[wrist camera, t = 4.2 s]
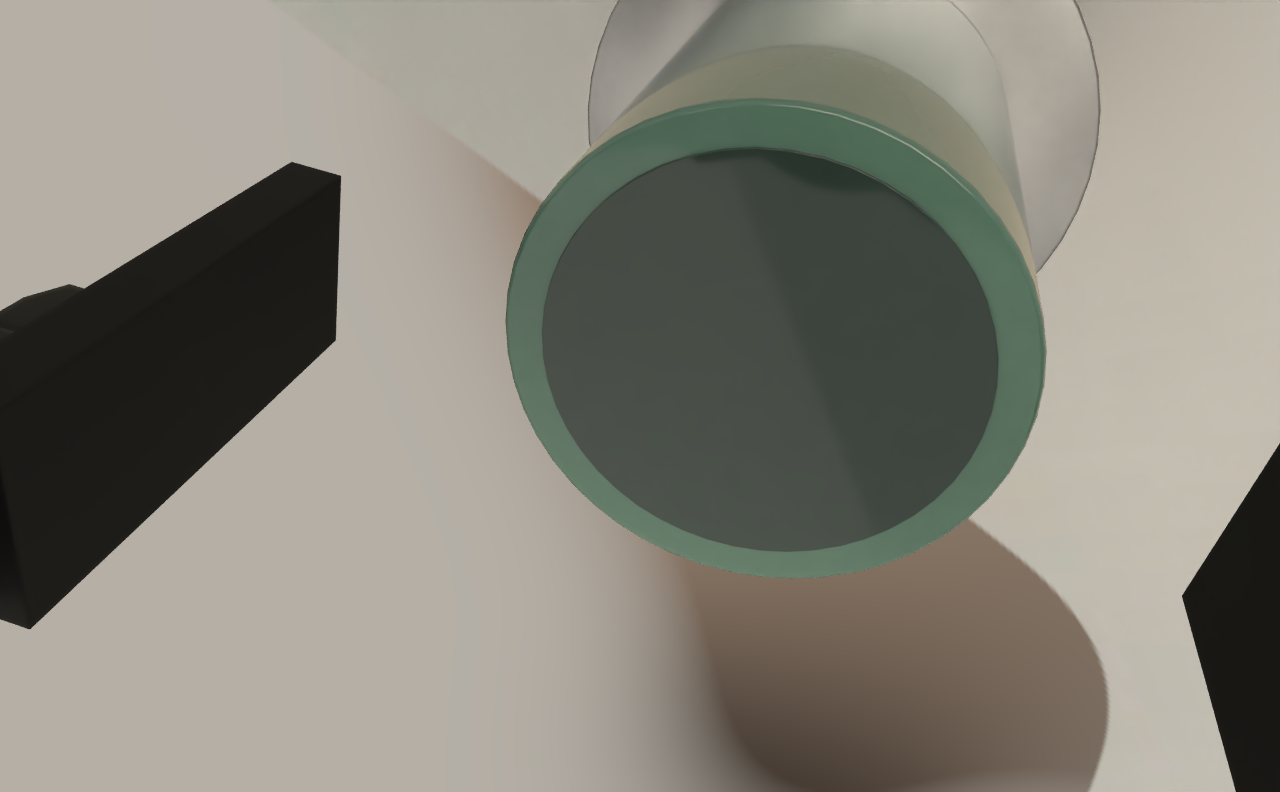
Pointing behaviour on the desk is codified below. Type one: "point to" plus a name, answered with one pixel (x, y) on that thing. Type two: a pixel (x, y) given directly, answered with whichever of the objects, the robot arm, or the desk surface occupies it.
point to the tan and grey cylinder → (1016, 37)
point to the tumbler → (790, 292)
